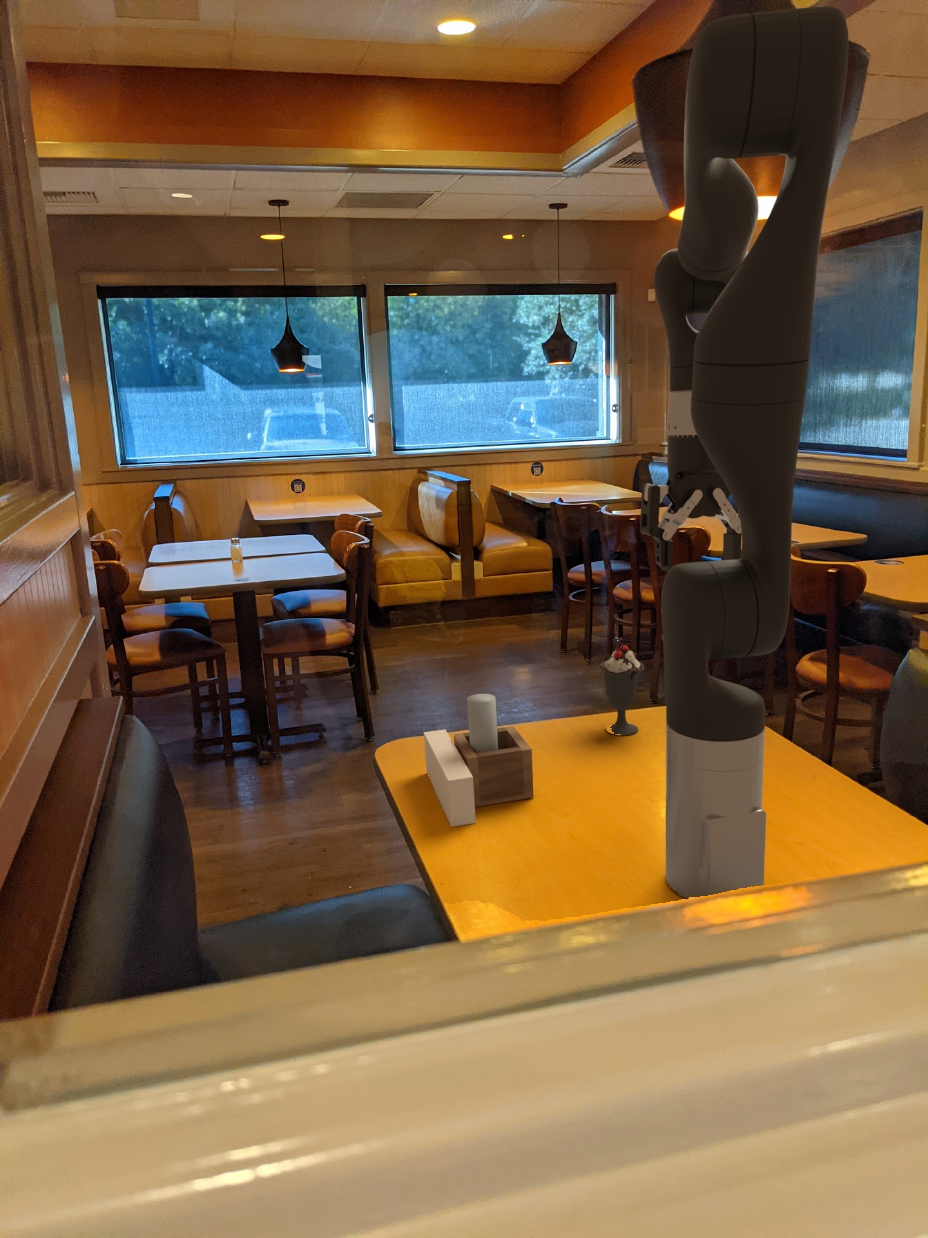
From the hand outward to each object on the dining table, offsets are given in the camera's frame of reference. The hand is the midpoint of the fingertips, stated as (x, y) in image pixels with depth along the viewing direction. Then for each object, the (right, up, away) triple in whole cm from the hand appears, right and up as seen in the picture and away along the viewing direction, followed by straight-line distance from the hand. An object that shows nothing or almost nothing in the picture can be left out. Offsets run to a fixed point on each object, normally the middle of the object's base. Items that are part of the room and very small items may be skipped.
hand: (698, 566), depth 101 cm
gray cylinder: (-26, -28, +7) cm, 39 cm away
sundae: (-5, -23, +25) cm, 34 cm away
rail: (-30, -29, +6) cm, 43 cm away
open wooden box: (-25, -29, +7) cm, 38 cm away
